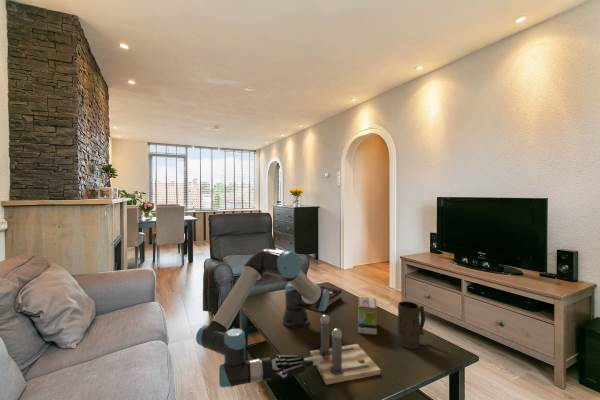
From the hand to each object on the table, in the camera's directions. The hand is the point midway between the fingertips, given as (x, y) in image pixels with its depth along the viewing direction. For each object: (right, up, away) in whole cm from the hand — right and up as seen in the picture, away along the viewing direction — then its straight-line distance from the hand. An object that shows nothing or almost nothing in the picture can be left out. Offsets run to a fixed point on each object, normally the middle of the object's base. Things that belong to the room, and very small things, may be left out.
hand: (319, 359), depth 114 cm
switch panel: (+11, -8, +10) cm, 17 cm away
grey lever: (+3, -6, +16) cm, 17 cm away
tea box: (+30, -8, +45) cm, 54 cm away
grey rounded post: (+7, -6, +2) cm, 9 cm away
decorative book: (+8, -7, +82) cm, 83 cm away
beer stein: (+49, -8, +29) cm, 57 cm away
